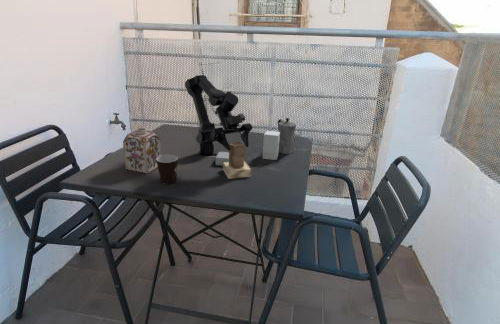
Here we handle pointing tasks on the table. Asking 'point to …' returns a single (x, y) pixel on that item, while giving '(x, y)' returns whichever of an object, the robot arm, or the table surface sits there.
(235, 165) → the walnut block
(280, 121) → the coffeepot
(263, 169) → the table surface
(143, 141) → the decorative jar
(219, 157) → the slate block
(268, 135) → the supplement box
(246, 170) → the beech block
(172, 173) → the coffee mug
